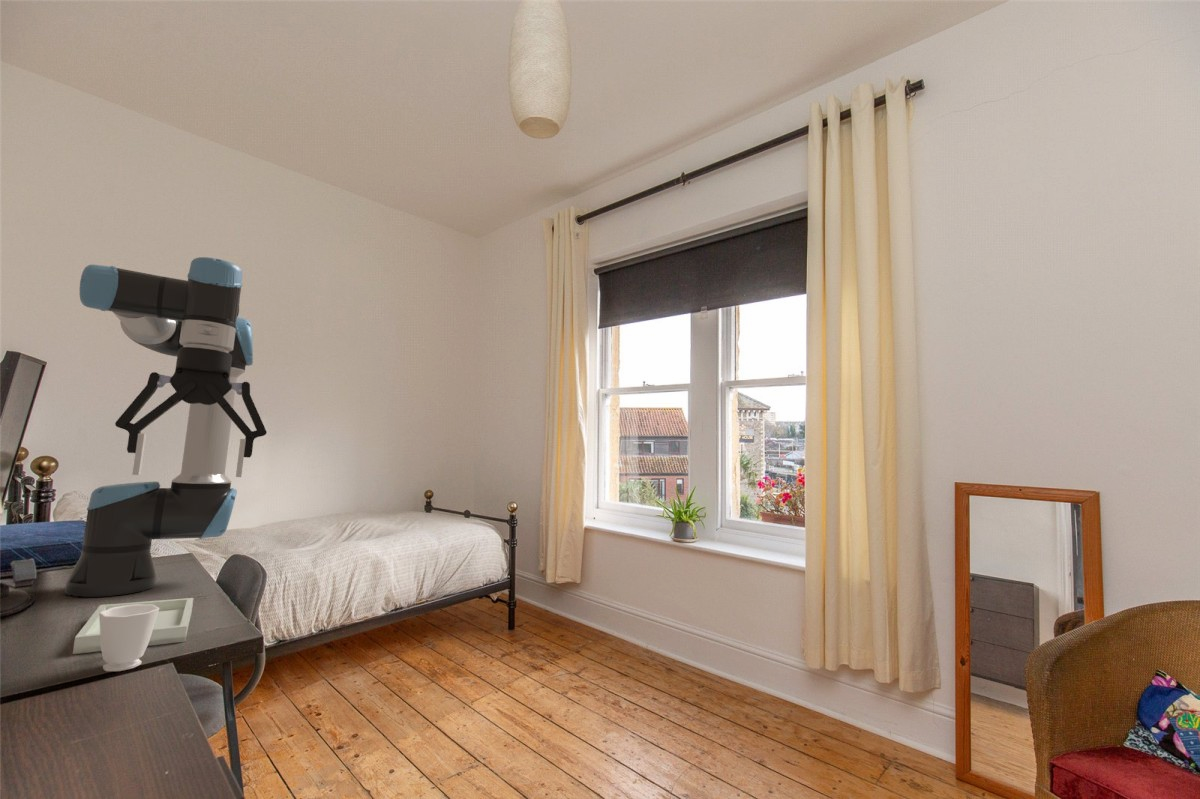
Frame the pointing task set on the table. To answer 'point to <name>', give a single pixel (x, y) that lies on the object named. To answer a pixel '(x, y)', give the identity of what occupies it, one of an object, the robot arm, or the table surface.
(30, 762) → the table surface
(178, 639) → the tray
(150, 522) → the robot arm
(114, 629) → the cup
